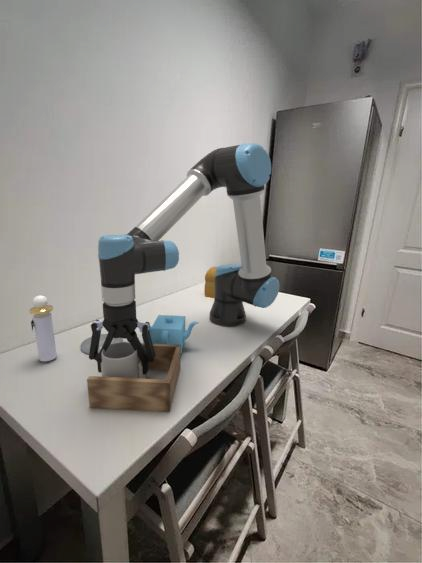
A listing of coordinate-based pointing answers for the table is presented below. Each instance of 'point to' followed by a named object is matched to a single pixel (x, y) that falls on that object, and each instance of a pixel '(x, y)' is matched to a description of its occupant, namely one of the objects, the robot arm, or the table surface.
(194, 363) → the table surface
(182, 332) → the teapot
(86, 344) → the grey saucer
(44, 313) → the perfume bottle
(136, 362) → the mug
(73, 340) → the table surface
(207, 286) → the bread
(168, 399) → the three-sided wooden frame
